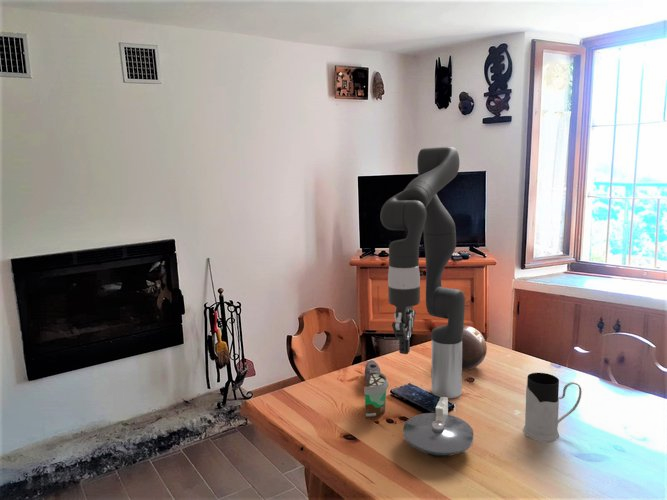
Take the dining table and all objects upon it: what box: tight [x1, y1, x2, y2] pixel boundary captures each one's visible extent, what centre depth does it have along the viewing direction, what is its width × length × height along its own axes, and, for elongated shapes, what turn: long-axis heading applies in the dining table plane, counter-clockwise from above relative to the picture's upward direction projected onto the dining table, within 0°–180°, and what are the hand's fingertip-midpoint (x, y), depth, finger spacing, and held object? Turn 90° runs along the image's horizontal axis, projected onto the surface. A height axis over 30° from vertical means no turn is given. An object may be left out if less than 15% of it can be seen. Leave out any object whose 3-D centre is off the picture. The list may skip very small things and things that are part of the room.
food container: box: [363, 371, 390, 420], centre depth 141 cm, size 12×6×10 cm, turn 168°
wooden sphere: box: [462, 324, 487, 370], centre depth 170 cm, size 15×15×15 cm
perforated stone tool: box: [364, 359, 382, 385], centre depth 161 cm, size 15×5×7 cm, turn 178°
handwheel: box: [402, 396, 474, 456], centre depth 121 cm, size 17×17×7 cm
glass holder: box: [522, 372, 582, 443], centre depth 127 cm, size 9×14×15 cm, turn 88°
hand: (404, 352), depth 120 cm, fingers closed
